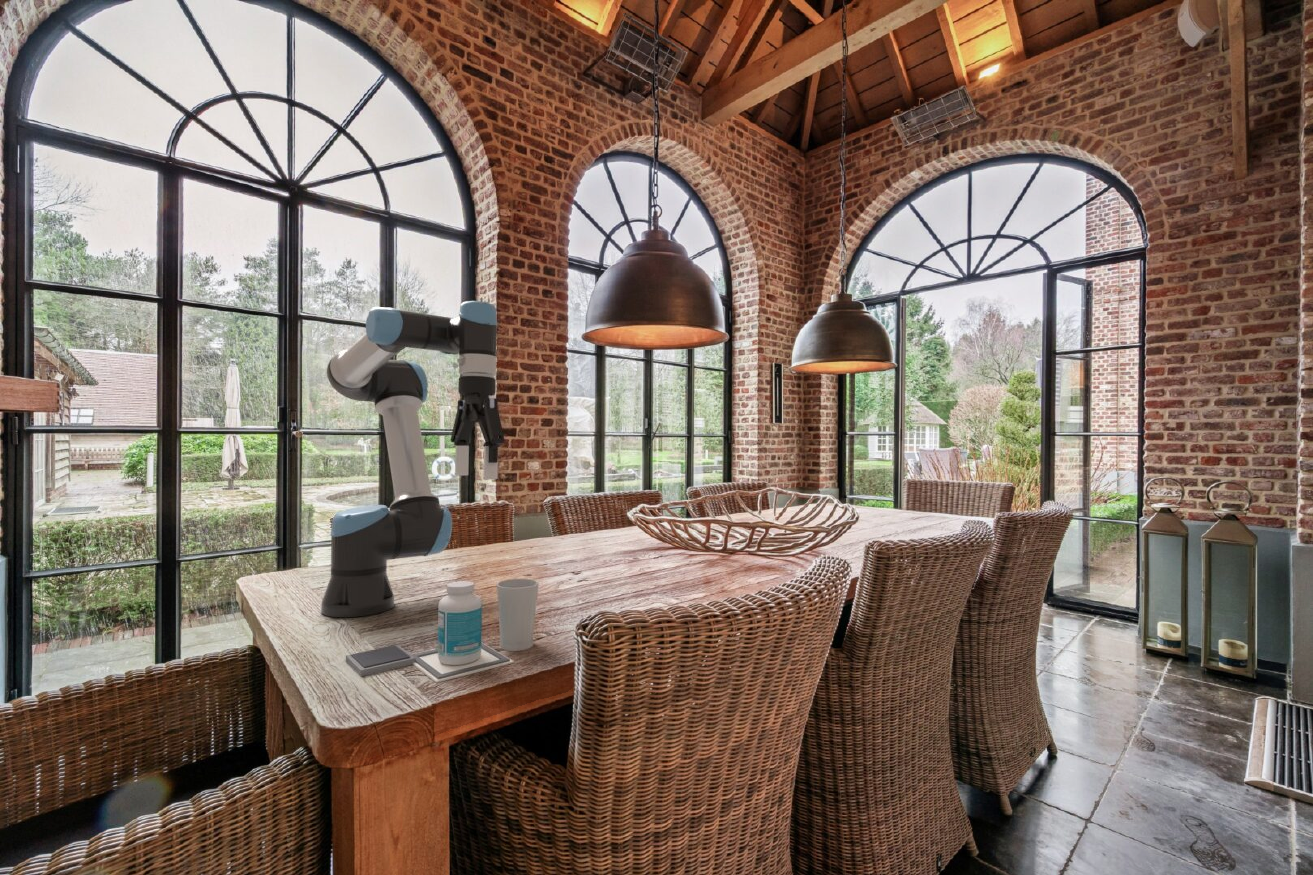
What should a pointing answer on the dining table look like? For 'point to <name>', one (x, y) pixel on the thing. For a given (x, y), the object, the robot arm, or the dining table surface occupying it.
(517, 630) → the cup
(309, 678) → the dining table surface
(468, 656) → the pill bottle
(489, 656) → the sheet
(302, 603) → the dining table surface
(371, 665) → the ink pad
